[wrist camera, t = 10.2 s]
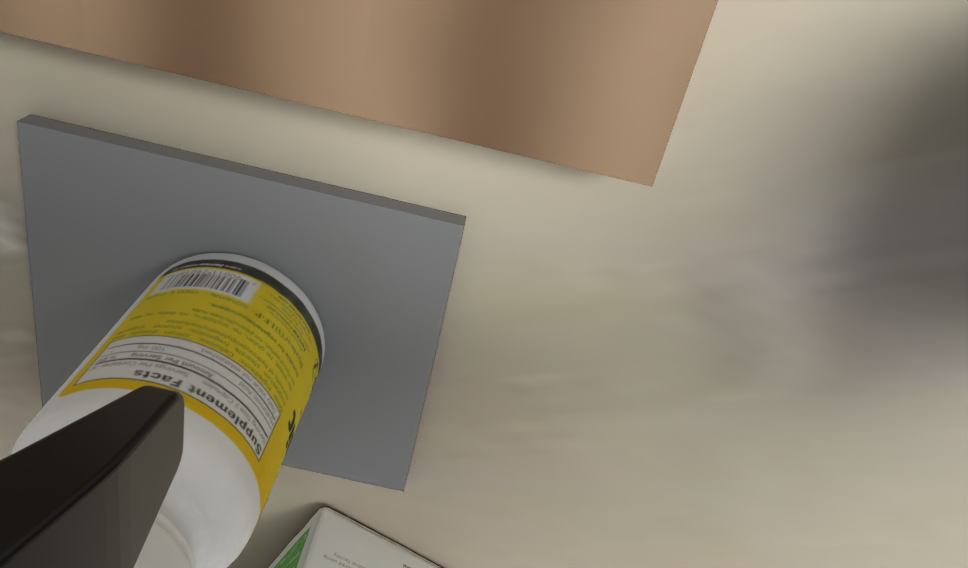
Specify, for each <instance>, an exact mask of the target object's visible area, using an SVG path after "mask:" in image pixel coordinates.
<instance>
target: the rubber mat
mask: <svg viewBox="0 0 968 568" xmlns="http://www.w3.org/2000/svg"><path fill="white" fill-rule="evenodd" d="M17 127H18V138H19V150H20V161H21V172H22V183H23V194H24V206H25V217H26V228H27V239H28V250H29V261H30V273H31V284H32V295H33V306H34V317H35V329H36V340H37V351H38V362H39V373H40V385H41V396H42V407H44V405H45V404H46V403H47V402H48V401H49V400H50V399H51V397H52V396H53V395H54V394H55V393H56V392H57V391H58V390H59V388H60V387H61V386H62V385H63V384H64V383H65V382H66V381H67V379H68V378H69V377H70V376H71V375H72V374H73V372H74V371H75V370H76V369H77V368H78V367H79V366H80V364H81V363H82V362H83V361H84V360H85V359H86V357H87V356H88V355H89V354H90V353H91V352H92V351H93V349H94V348H95V347H96V346H97V345H98V344H99V343H100V341H101V340H102V339H103V338H104V337H105V336H106V335H107V333H108V332H109V331H110V330H111V329H112V328H113V327H114V325H115V324H116V323H117V322H118V321H119V320H120V318H121V317H122V316H123V315H124V314H125V313H126V312H127V310H128V309H129V308H130V307H131V306H132V305H133V304H134V302H135V301H136V300H137V299H138V298H139V297H140V295H141V294H142V293H143V292H144V291H145V290H146V289H147V288H148V286H149V285H150V284H151V283H152V282H153V281H154V280H155V279H156V278H157V277H158V276H159V275H160V274H161V273H162V272H163V271H164V270H166V269H167V268H168V267H170V266H171V265H173V264H175V263H177V262H179V261H181V260H183V259H185V258H188V257H192V256H195V255H199V254H206V253H229V254H237V255H242V256H246V257H249V258H252V259H255V260H258V261H261V262H263V263H265V264H267V265H269V266H271V267H273V268H275V269H276V270H278V271H280V272H281V273H282V274H284V275H285V276H286V277H288V278H289V279H290V280H291V281H293V282H294V283H295V284H296V285H297V286H298V287H299V288H300V289H301V290H302V291H303V292H304V294H305V295H306V296H307V297H308V299H309V300H310V302H311V303H312V305H313V306H314V308H315V310H316V312H317V314H318V316H319V319H320V321H321V324H322V327H323V332H324V338H325V352H324V358H323V363H322V366H321V369H320V372H319V375H318V377H317V381H316V383H315V386H314V388H313V390H312V393H311V395H310V397H309V400H308V402H307V404H306V406H305V409H304V411H303V414H302V416H301V418H300V421H299V423H298V425H297V428H296V430H295V433H294V435H293V438H292V440H291V442H290V446H289V448H288V450H287V453H286V455H285V457H284V459H283V462H282V464H281V465H286V466H290V467H295V468H299V469H304V470H308V471H313V472H317V473H322V474H327V475H331V476H336V477H340V478H345V479H349V480H354V481H358V482H363V483H367V484H372V485H376V486H381V487H385V488H390V489H394V490H399V491H403V492H404V488H405V484H406V480H407V475H408V471H409V467H410V462H411V458H412V453H413V449H414V445H415V440H416V436H417V432H418V427H419V423H420V418H421V414H422V410H423V405H424V401H425V396H426V392H427V388H428V383H429V379H430V374H431V370H432V366H433V361H434V357H435V353H436V348H437V344H438V339H439V335H440V331H441V326H442V322H443V317H444V313H445V309H446V304H447V300H448V296H449V291H450V287H451V282H452V278H453V274H454V269H455V265H456V260H457V256H458V252H459V247H460V243H461V239H462V234H463V230H464V225H465V221H466V217H465V216H461V215H457V214H453V213H448V212H444V211H440V210H436V209H431V208H427V207H423V206H419V205H414V204H410V203H406V202H401V201H397V200H393V199H389V198H384V197H380V196H376V195H372V194H367V193H363V192H359V191H355V190H350V189H346V188H342V187H337V186H333V185H329V184H325V183H320V182H316V181H312V180H308V179H303V178H299V177H295V176H291V175H286V174H282V173H278V172H273V171H269V170H265V169H261V168H256V167H252V166H248V165H244V164H239V163H235V162H231V161H227V160H222V159H218V158H214V157H209V156H205V155H201V154H197V153H192V152H188V151H184V150H180V149H175V148H171V147H167V146H163V145H158V144H154V143H150V142H146V141H141V140H137V139H133V138H128V137H124V136H120V135H116V134H111V133H107V132H103V131H99V130H94V129H90V128H86V127H82V126H77V125H73V124H69V123H64V122H60V121H56V120H52V119H47V118H43V117H39V116H35V115H28V116H27V117H25V118H23V119H21V120H19V121H17Z"/></svg>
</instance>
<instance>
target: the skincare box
mask: <svg viewBox="0 0 968 568" xmlns="http://www.w3.org/2000/svg"><path fill="white" fill-rule="evenodd" d="M269 568H441V567H439V566H437V565H436V564H434V563H432V562H430V561H428V560H426V559H425V558H423V557H421V556H419V555H417V554H415V553H414V552H412V551H410V550H408V549H406V548H404V547H403V546H401V545H399V544H397V543H395V542H393V541H391V540H390V539H388V538H386V537H384V536H382V535H380V534H378V533H376V532H374V531H372V530H370V529H368V528H367V527H365V526H363V525H361V524H359V523H357V522H355V521H354V520H352V519H350V518H348V517H346V516H344V515H342V514H340V513H338V512H336V511H334V510H332V509H330V508H327V507H324V508H321V509H319V510H318V511H317V512H316V514H315V515H314V516H313V517H312V518H311V519H310V521H309V522H308V523H307V524H306V526H305V527H304V528H303V529H302V530H301V531H300V532H299V533H298V534H297V535H296V536H295V537H294V538H293V539H292V540H291V542H290V543H289V544H288V545H287V546H286V547H285V549H284V550H283V551H282V552H281V553H280V555H279V556H278V557H277V558H276V559H275V560H274V562H273V563H272V564H271V565H270V566H269Z"/></svg>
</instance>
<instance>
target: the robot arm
mask: <svg viewBox="0 0 968 568" xmlns="http://www.w3.org/2000/svg"><path fill="white" fill-rule="evenodd" d="M183 440H184V399H183V396H182V395H181V394H180V393H179V392H177V391H174V390H169V389H165V388H160V387H156V386H151V385H146V386H142V387H139V388H137V389H135V390H133V391H131V392H130V393H128V394H126V395H124V396H122V397H120V398H118V399H116V400H114V401H112V402H110V403H109V404H107V405H105V406H103V407H101V408H99V409H97V410H95V411H93V412H91V413H90V414H88V415H86V416H84V417H82V418H80V419H78V420H76V421H74V422H72V423H71V424H69V425H67V426H65V427H63V428H61V429H59V430H57V431H55V432H53V433H51V434H50V435H48V436H46V437H44V438H42V439H40V440H38V441H36V442H34V443H32V444H31V445H29V446H27V447H25V448H23V449H21V450H19V451H17V452H15V453H13V454H11V455H10V456H8V457H6V458H4V459H2V460H0V568H134V566H135V564H136V561H137V559H138V557H139V555H140V552H141V550H142V548H143V546H144V543H145V541H146V539H147V537H148V535H149V532H150V530H151V528H152V526H153V523H154V521H155V519H156V517H157V514H158V512H159V510H160V508H161V505H162V503H163V501H164V499H165V497H166V494H167V492H168V490H169V488H170V485H171V483H172V481H173V479H174V476H175V474H176V472H177V470H178V467H179V464H180V461H181V457H182V453H183Z"/></svg>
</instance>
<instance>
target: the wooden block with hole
mask: <svg viewBox="0 0 968 568" xmlns="http://www.w3.org/2000/svg"><path fill="white" fill-rule="evenodd" d="M717 2H718V0H0V32H4V33H8V34H12V35H16V36H21V37H25V38H29V39H33V40H38V41H42V42H46V43H50V44H54V45H59V46H63V47H67V48H71V49H75V50H80V51H84V52H88V53H92V54H96V55H101V56H105V57H109V58H113V59H117V60H122V61H126V62H130V63H134V64H138V65H143V66H147V67H151V68H155V69H159V70H164V71H168V72H172V73H176V74H180V75H185V76H189V77H193V78H197V79H202V80H206V81H210V82H214V83H218V84H223V85H227V86H231V87H235V88H239V89H244V90H248V91H252V92H256V93H260V94H265V95H269V96H273V97H277V98H281V99H286V100H290V101H294V102H298V103H302V104H307V105H311V106H315V107H319V108H323V109H328V110H332V111H336V112H340V113H344V114H349V115H353V116H357V117H361V118H366V119H370V120H374V121H378V122H382V123H387V124H391V125H395V126H399V127H403V128H408V129H412V130H416V131H420V132H424V133H429V134H433V135H437V136H441V137H445V138H450V139H454V140H458V141H462V142H466V143H471V144H475V145H479V146H483V147H487V148H492V149H496V150H500V151H504V152H508V153H513V154H517V155H521V156H525V157H530V158H534V159H538V160H542V161H546V162H551V163H555V164H559V165H563V166H567V167H572V168H576V169H580V170H584V171H588V172H593V173H597V174H601V175H605V176H609V177H614V178H618V179H622V180H626V181H630V182H635V183H639V184H643V185H647V186H651V187H652V186H653V183H654V180H655V177H656V174H657V172H658V169H659V166H660V163H661V160H662V157H663V155H664V152H665V149H666V146H667V143H668V141H669V138H670V135H671V132H672V129H673V126H674V124H675V121H676V118H677V115H678V112H679V109H680V107H681V104H682V101H683V98H684V95H685V93H686V90H687V87H688V84H689V81H690V78H691V76H692V73H693V70H694V67H695V64H696V61H697V59H698V56H699V53H700V50H701V47H702V44H703V42H704V39H705V36H706V33H707V30H708V28H709V25H710V22H711V19H712V16H713V13H714V11H715V8H716V5H717Z"/></svg>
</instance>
